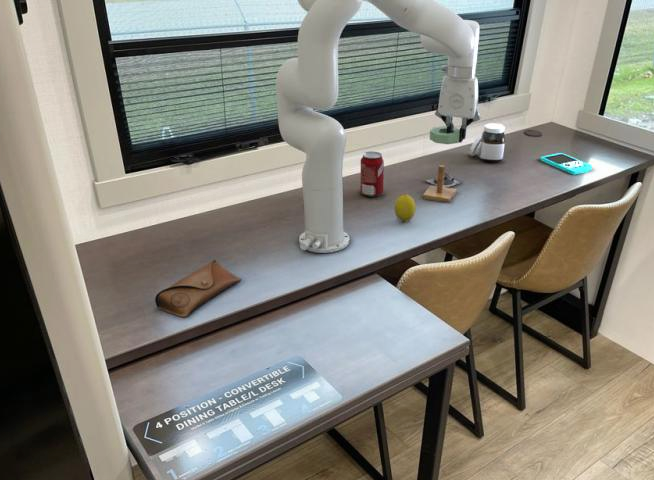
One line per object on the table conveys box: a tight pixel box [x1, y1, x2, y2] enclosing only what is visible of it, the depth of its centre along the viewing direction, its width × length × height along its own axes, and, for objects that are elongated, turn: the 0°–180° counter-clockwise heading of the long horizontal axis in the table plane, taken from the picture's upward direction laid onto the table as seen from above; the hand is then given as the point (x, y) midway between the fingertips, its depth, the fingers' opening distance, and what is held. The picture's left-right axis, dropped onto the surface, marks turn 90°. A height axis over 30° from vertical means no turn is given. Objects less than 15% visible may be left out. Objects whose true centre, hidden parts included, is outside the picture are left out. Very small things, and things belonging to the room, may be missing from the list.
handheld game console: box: [540, 152, 593, 176], centre depth 204 cm, size 10×16×1 cm, turn 30°
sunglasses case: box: [154, 259, 242, 318], centre depth 129 cm, size 18×7×7 cm
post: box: [422, 164, 457, 203], centre depth 176 cm, size 8×8×9 cm
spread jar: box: [468, 122, 506, 164], centre depth 204 cm, size 12×11×12 cm
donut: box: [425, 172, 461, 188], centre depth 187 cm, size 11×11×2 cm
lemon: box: [394, 193, 416, 223], centre depth 161 cm, size 6×6×8 cm
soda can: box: [360, 151, 385, 198], centre depth 176 cm, size 7×7×12 cm
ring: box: [429, 125, 460, 145], centre depth 169 cm, size 8×8×2 cm
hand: (455, 139), depth 169 cm, fingers closed on ring, 2 cm apart
